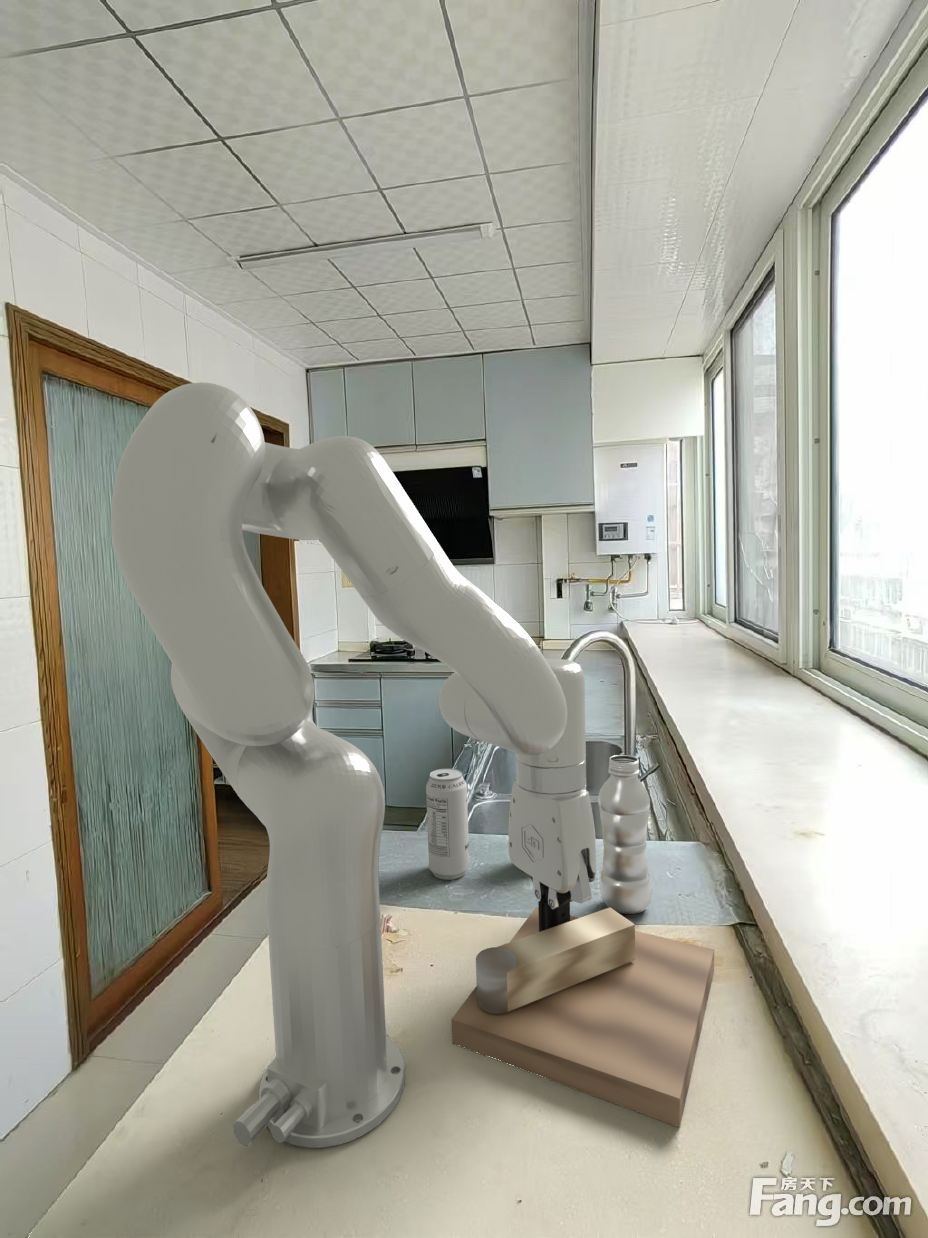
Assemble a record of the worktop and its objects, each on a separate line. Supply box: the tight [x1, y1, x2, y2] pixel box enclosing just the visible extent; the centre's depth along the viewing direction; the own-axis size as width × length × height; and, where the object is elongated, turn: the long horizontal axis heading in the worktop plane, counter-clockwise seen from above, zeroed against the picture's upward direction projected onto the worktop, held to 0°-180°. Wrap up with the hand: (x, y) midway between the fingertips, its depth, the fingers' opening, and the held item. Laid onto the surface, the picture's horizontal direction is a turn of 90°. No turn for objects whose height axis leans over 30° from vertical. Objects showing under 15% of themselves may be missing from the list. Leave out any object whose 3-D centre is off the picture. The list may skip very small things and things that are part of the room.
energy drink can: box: [425, 768, 470, 881], centre depth 96 cm, size 6×6×15 cm
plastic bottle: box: [597, 754, 653, 915], centre depth 84 cm, size 6×7×20 cm
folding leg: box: [475, 907, 636, 1014], centre depth 67 cm, size 18×4×4 cm, turn 118°
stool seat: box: [450, 906, 715, 1128], centre depth 67 cm, size 22×21×2 cm
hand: (554, 934), depth 72 cm, fingers closed
